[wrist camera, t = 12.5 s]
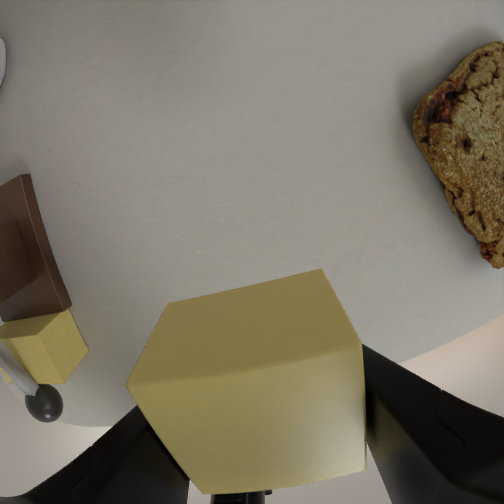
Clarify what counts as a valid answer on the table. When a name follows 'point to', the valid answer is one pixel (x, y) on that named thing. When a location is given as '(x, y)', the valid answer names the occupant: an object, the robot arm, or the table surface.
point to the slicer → (26, 257)
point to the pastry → (469, 144)
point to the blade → (32, 389)
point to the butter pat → (257, 386)
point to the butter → (45, 346)
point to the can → (2, 60)
